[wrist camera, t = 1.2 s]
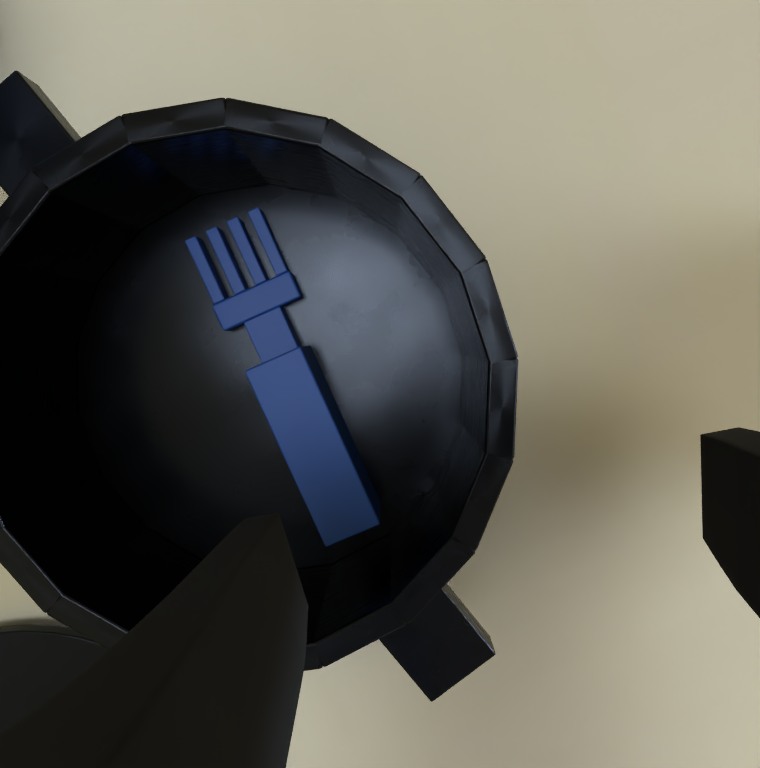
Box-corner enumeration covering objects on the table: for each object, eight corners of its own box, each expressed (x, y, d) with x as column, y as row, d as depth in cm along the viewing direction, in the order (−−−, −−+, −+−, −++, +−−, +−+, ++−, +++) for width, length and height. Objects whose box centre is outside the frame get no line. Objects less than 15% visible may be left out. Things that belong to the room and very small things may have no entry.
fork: (394, 498, 21) (394, 518, 19) (320, 529, 21) (311, 554, 19) (264, 209, 20) (248, 193, 18) (188, 244, 20) (162, 232, 18)
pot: (289, 714, 23) (253, 852, 17) (-71, 294, 21) (-251, 279, 15) (609, 471, 21) (695, 524, 15) (250, 13, 20) (192, -121, 14)
